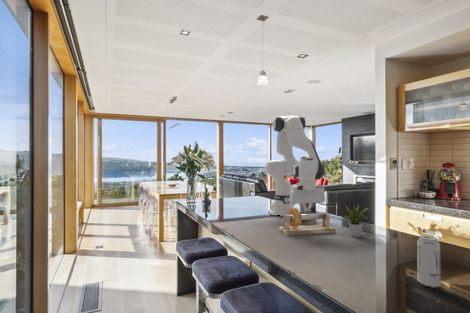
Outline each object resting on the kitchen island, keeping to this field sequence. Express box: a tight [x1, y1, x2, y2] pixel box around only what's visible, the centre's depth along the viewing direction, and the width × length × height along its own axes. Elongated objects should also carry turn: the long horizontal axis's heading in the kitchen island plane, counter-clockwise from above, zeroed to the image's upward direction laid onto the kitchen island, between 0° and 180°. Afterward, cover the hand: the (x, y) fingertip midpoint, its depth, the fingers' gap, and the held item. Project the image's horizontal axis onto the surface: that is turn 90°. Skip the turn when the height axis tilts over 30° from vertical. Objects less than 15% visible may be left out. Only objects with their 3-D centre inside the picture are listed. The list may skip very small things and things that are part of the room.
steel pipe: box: [284, 212, 326, 221], centre depth 156 cm, size 3×26×3 cm, turn 104°
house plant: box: [344, 203, 369, 238], centre depth 147 cm, size 14×14×16 cm
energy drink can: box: [416, 235, 441, 288], centre depth 90 cm, size 6×6×15 cm
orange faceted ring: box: [288, 207, 301, 228], centre depth 155 cm, size 10×2×10 cm, turn 14°
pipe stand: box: [278, 212, 336, 237], centre depth 156 cm, size 12×28×10 cm, turn 104°
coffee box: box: [299, 203, 317, 225], centre depth 175 cm, size 9×6×16 cm
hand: (307, 211), depth 157 cm, fingers closed
